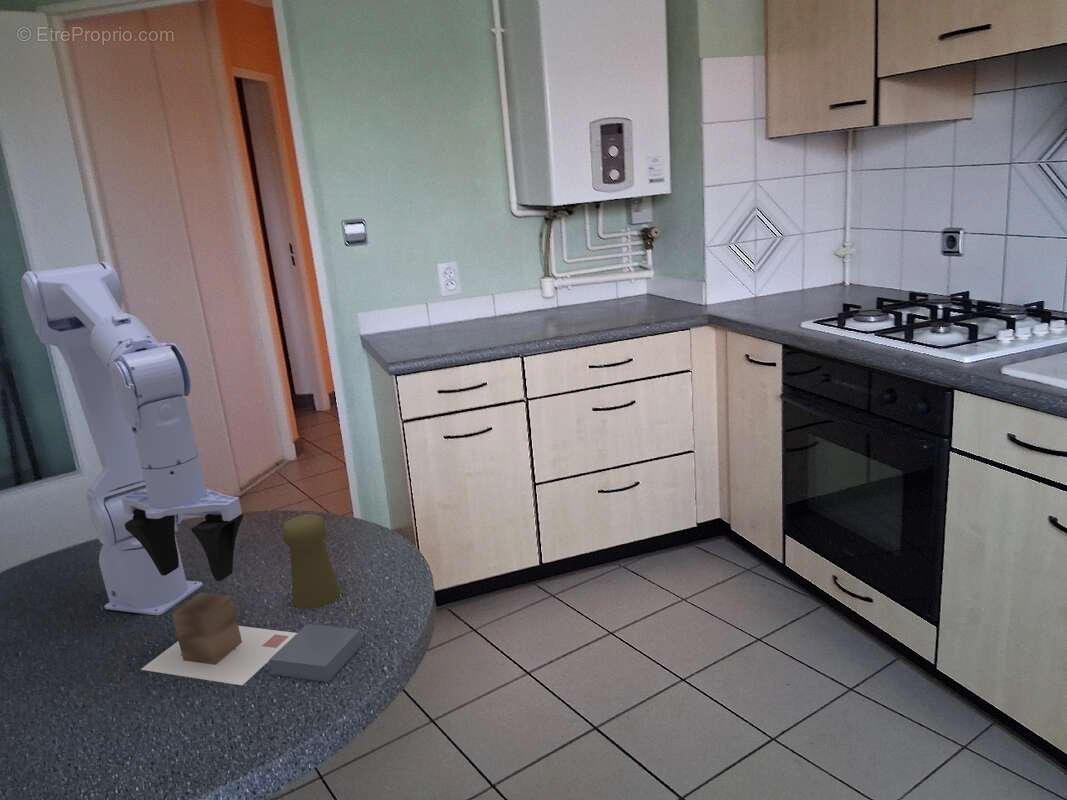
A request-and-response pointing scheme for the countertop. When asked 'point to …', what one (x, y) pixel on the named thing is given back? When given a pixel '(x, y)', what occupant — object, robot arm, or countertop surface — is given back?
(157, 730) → the countertop surface
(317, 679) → the metal block
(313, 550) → the cork
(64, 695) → the countertop surface
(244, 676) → the letter
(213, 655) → the walnut block
